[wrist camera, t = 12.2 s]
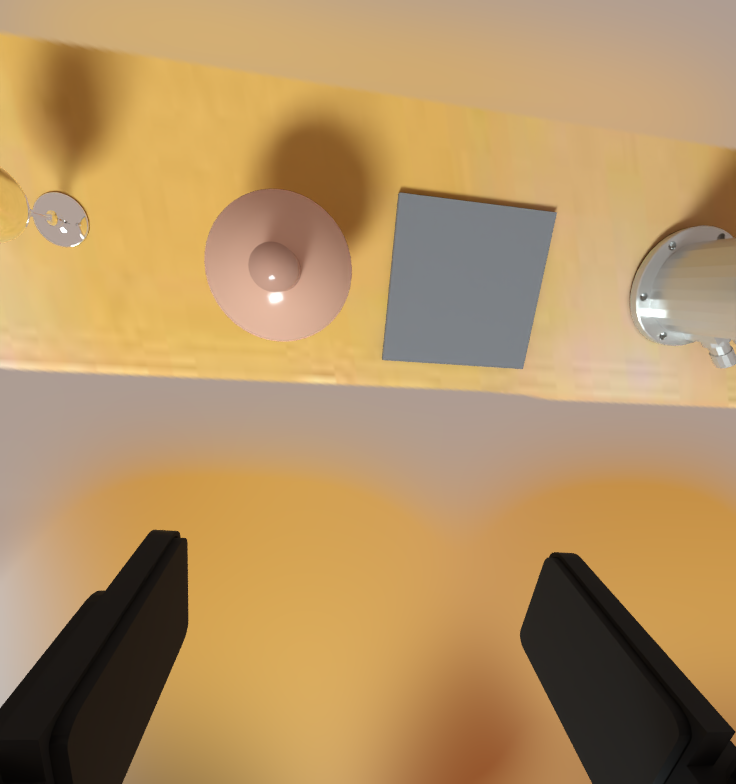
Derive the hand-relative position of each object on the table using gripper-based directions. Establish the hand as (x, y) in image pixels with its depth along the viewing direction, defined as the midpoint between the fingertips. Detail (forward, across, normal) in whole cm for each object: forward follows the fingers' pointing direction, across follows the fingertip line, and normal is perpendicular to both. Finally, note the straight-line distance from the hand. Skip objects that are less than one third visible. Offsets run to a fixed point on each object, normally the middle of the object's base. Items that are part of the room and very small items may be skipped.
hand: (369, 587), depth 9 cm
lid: (+23, +6, -8) cm, 25 cm away
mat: (+30, -12, -9) cm, 33 cm away
